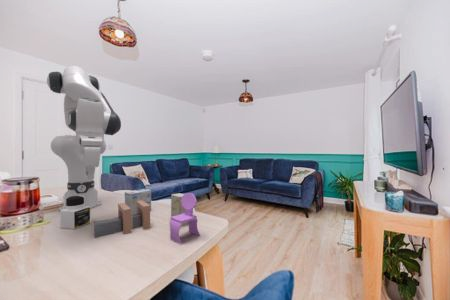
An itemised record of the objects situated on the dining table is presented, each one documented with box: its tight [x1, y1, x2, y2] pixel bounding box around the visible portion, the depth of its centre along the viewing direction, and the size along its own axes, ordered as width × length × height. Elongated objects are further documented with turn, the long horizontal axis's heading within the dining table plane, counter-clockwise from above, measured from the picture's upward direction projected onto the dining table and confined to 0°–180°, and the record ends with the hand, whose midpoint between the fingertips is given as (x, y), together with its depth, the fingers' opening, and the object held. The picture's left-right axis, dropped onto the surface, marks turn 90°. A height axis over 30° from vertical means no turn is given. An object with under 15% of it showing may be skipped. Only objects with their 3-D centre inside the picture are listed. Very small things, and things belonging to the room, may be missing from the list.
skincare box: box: [170, 192, 188, 227], centre depth 82 cm, size 6×4×12 cm
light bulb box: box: [124, 188, 152, 215], centre depth 99 cm, size 11×7×11 cm, turn 144°
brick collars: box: [117, 200, 151, 235], centre depth 80 cm, size 11×9×9 cm
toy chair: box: [169, 192, 201, 245], centre depth 70 cm, size 8×9×15 cm
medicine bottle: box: [59, 195, 91, 230], centre depth 82 cm, size 7×7×12 cm
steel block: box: [93, 213, 142, 239], centre depth 77 cm, size 4×18×5 cm, turn 128°
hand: (89, 177), depth 76 cm, fingers open, 8 cm apart
